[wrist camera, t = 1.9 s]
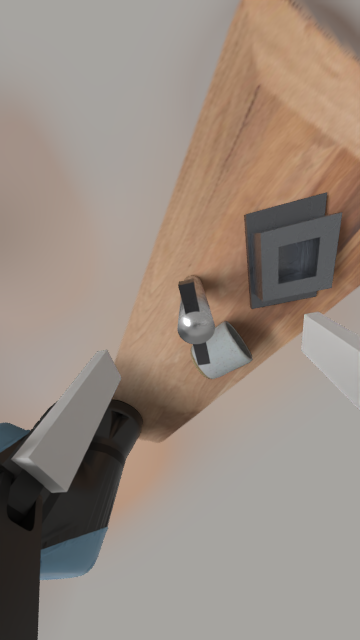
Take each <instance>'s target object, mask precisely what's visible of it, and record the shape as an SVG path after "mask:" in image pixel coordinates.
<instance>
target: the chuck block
mask: <svg viewBox="0 0 360 640" xmlns="http://www.w3.org/2000/svg"><path fill="white" fill-rule="evenodd" d="M326 199H327V193H323V194H319V195H316V196H312V197H308V198H305V199H301V200H297V201H294V202H290V203H286V204H283V205H279V206H275V207H272V208H268V209H264V210H261V211H257V212H253V213H249V214H246V215H244V220H245V235H246V250H247V264H248V279H249V294H250V307H251V308H252V309H254V308H259V307H264V306H269V305H275V304H280V303H285V302H290V301H295V300H300V299H305V298H310V297H315V296H316V293H317V291H318V290H323V289H328V288H332V281H333V274H334V267H335V260H336V253H337V246H338V239H339V232H340V225H341V218H342V212H341V213H335V214H329V215H325V208H326Z"/></svg>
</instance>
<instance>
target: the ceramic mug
mask: <svg viewBox="0 0 360 640" xmlns="http://www.w3.org/2000/svg"><path fill="white" fill-rule="evenodd" d="M206 343H207V348H208V353H209V358H210V364H205V365H198V363H197V359H196V355H195V351H194V347H193V345H192V347H191V357H192V360H193V363H194V365H195V366H196V368H197V369H198V371H199V372H200V373H201V374H202V375H203V376H204V377H206V378H208V379H215V378H218V377H220V376H223V375H225V374H226V373H228V372H230V371H232V370H235V369H237V368H239V367H241V366H243V365H245V364H247V363H249V362H251V361H252V360H253V359H252V355H251V353H250V351H249V349H248V348H247V346H246V344H245V343H244V341H243V340H242V338H241V337H240V335H239V334H238V333H237V331H236V330H235V329H234V328H233V327H232V325H231V324H229V323H228V322H227V321H224V322H223V323H221V324H220V325H218V326H217V327H216V328H215V331H214V334H213V336H212V337H211V338H210V339H209V340H208V341H206Z"/></svg>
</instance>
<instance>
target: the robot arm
mask: <svg viewBox="0 0 360 640" xmlns="http://www.w3.org/2000/svg"><path fill="white" fill-rule="evenodd" d="M301 351H302V352H303V353H304V354H305V355H306V356H307V357H308V358H309V359H310V360H311V361H312V362H313V363H314V364H315V365H316V366H317V367H318V368H319V369H320V370H321V371H322V372H323V373H324V374H325V375H326V376H327V377H328V378H329V379H330V380H331V382H332V383H334V385H336V387H337V388H338V389H339V390H340V391H341V392H342V393H343V394H344V395H345V396H346V397H347V398H348V399H349V400H350V401H351V402H352V403H353V404H354V405H355V406H356V407H357V408H358V409H359V410H360V336H359V335H357V334H355V333H354V332H352V331H350V330H349V329H347V328H345V327H343V326H342V325H340V324H338V323H336V322H335V321H333V320H331V319H330V318H328V317H326V316H325V315H323V314H321V313H319V312H314V313H308V314H304V325H303V337H302V349H301ZM120 380H121V376H120V374H119V372H118V370H117V368H116V366H115V364H114V362H113V360H112V358H111V356H110V354H109V353H108V351H107V350H103V351H97V353H96V354H95V355H94V356H93V358H92V359H91V360H90V362H89V363H88V364H87V365H86V366H85V368H84V369H83V370H82V371H81V373H80V374H79V375H78V376H77V378H76V379H75V380H74V381H73V383H72V384H71V385H70V386H69V388H68V389H67V390H66V391H65V393H64V394H63V395H62V396H61V398H60V399H59V400H58V401H57V402H56V403H55V404H53V405H52V406H51V407H50V408H49V409H48V410H47V411H46V412H45V414H44V415H43V416H42V417H41V418H40V421H38V422H37V423H36V424H35V426H34V427H33V429H31V431H30V430H24V429H22V428H20V427H17V426H15V425H13V424H10V423H0V640H37V639H38V638H37V636H38V612H39V585H40V580H49V579H62V578H63V579H64V578H72V577H78V576H82V575H84V574H85V573H87V572H88V571H89V570H90V569H91V568H92V567H93V566H94V564H95V562H96V560H97V557H98V554H99V551H100V549H101V546H102V543H103V539H104V537H105V533H106V531H107V529H108V527H107V526H108V523H109V519H110V515H111V511H112V508H113V504H114V501H115V497H116V493H117V490H118V486H119V482H120V479H121V475H122V471H123V468H124V464H125V461H126V458H127V456H128V455H129V453H130V451H131V449H132V448H133V446H134V444H135V442H136V440H137V439H138V437H139V435H140V433H141V429H142V424H143V421H142V418H141V416H140V414H139V413H138V412H137V411H136V410H135V409H134V408H133V407H131V406H130V405H128V404H126V403H123V402H120V401H116V400H111V399H112V397H113V395H114V393H115V391H116V389H117V386H118V384H119V382H120Z"/></svg>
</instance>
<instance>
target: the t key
mask: <svg viewBox="0 0 360 640" xmlns="http://www.w3.org/2000/svg"><path fill="white" fill-rule="evenodd" d="M178 286H179V290H180V294H181V302H180V311H179V319H178V333H179V335H180V337H181V338H182V339H183V340H184V341H186V342H187V343H190V344H193V347H194V351H195V355H196V359H197V363H198V365H205V364H210V358H209V353H208V348H207V343H206V341H208V340H209V339H210V338H211V337H212V336H213V334H214V331H215V324H214V321H213V318H212V314H211V311H210V308H209V305H208V301H207V298H206V295H205V292H204V288H203V285H202V282H201V280H200V278H198V277H197V276H194V275H191V276H188V277H186V278H185V279H184V281H181V282H179V285H178Z"/></svg>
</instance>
